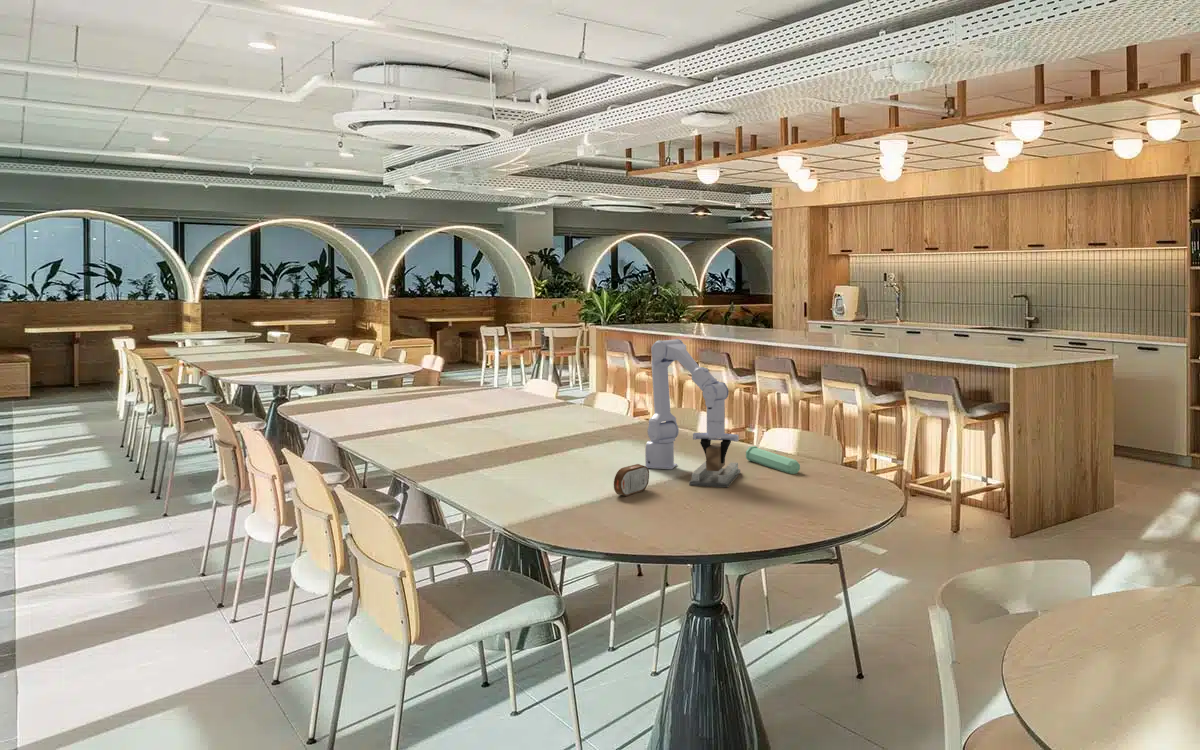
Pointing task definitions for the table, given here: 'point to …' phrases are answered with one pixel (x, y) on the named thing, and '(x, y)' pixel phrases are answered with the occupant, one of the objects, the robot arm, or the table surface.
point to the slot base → (714, 476)
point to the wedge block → (714, 457)
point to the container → (772, 460)
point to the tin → (631, 480)
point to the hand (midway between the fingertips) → (715, 462)
